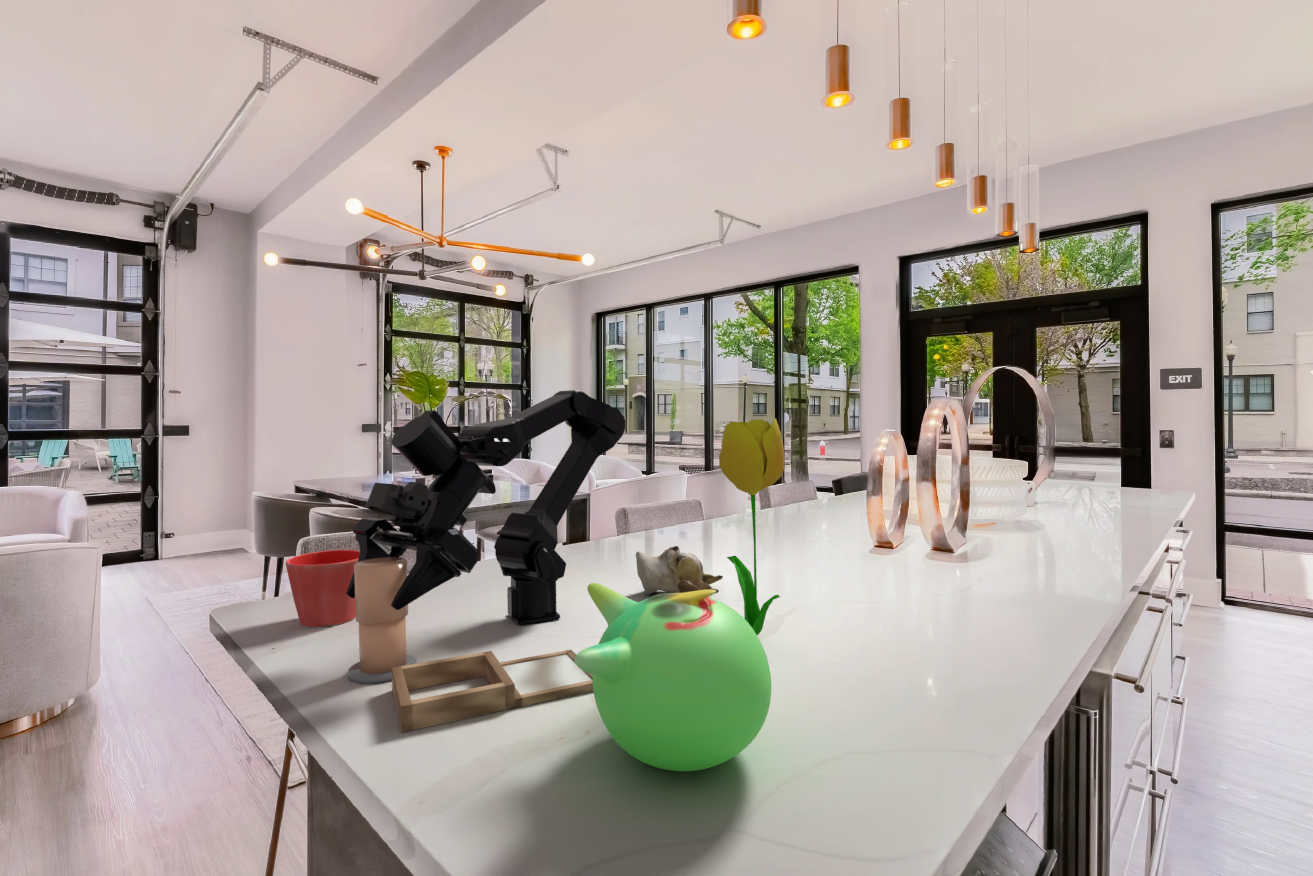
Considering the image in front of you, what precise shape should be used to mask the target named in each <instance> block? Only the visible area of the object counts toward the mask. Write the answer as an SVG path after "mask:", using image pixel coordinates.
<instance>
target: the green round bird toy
mask: <svg viewBox="0 0 1313 876" xmlns="http://www.w3.org/2000/svg"><path fill="white" fill-rule="evenodd" d="M586 588H587V592H588V595H589V597H590V598H591V600H592V601H593V603H594V604H595V606H596V608H597V609H598V611H599V612H600V613H601V616H602V617H603V618H604V620H605V622H606V623H607V625H608V626H607V628H606V629H605V631H604V632H603V634H602V635H601V637H600V640H599V641H598V644H596V645H595V644H594V645H592V646H588V647H586V648H584V649H582V650H580V651H579V652H578V653H576V656H575V664H576V665H577V666H578V667H579V668H580V669H582V670H583V671H585V672H587V673H590V674H592V675H593V691H592V692H593V694H594V695H593V696H594V700H595V704H596V708H597V711H598V714H599V717H600V718H601V721H602V723H603V725H604V726H605V728H606V730H607V731H608V732H607V733H609V734H610V736H611V738H612V739H613V740H614V741H615V742H616V744H618V746H619V747H621V748H622V749H623V750H624V751H625V752H626V753H627V754H629V755H630V756H631V757H633V758H634V759H636V760H638V761H639V762H641V763H643V764H647V765H649V766H651V767H654V768H657V769H662V770H667V771H671V772H672V771H673V772H694V771H700V770H701V771H702V770H706V769H709V768H710V769H711V768H713V767H717V766H719V765H721V764H723V763H725V762H727V761H729V760H731V759H733V758H734V757H736V756H737V755H739V754H740V753H741V752H742V751H744V750H745V749H747V747H749V746H750V744H751V743H753V741H754V740H755V739H756V737H757V736H758V734H759V733H760V732H761V730H762V728H763V726H764V724H765V722H766V719H767V716H768V713H769V709H770V705H771V698H772V675H771V670H770V669H771V668H770V664H769V660H768V657H767V654H766V651H765V649H764V646H763V644H762V642H761V640H760V638H759V636H758V635H756V633H755V631H754V630H753V628H752V627H751V626H750V625H749V623H748V622H747V621H746V620H745V618H744V616H742V615H741V614H740V613H739V612H738V611H736V610H735V609H734V608H733V607H731V606H730V605H728V604H726V603H724V602H723V601H720V600H718V599H715V598H713V597H711V596H713V595H714V594H715V593H716V590H698V591H691V592H685V593H669V592H666V593H664V592H663V593H658V594H655V595H651V596H650V597H647V598H646V599H643V600H640V601H635V600H634V599H630V598H629V597H626V596H625V595H623V594H621V593H619V592H617V591H615V590H613V589H611V588H610V587H608V586H605V585H602V584H600V583H597V582H591V583H589V584H588V585H587V587H586ZM716 594H717V593H716Z"/></svg>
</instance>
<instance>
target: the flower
mask: <svg viewBox="0 0 1313 876" xmlns="http://www.w3.org/2000/svg"><path fill="white" fill-rule="evenodd" d="M718 458H719V459H718V463H719V464H718V466H719V467H720V470H721V472H722V473H723V475H724V476H725V478H727V479H728V481H730V482H731V484H733V485H734V487H736V488H737V490H739V491H741V492H743V493H746V494H748V495H750V503H751V516H752V519H751V520H752V534H753V535H752V536H753V576H752V573H751V571H750V570H749V569H748V568H747V566H746V565H745V564H744V563H743V561H742V560H741V559H740V558H739V557H738V556H736V555H731V556H726V558H727V559H728V560H729V561H730V562H731V563H732V564H733V565H734V567H735V571H736V575H737V580H738V583H739V586H740V589H741V593H742V598H743V611H744V614H743V615H744V616H743V618H744V619H745V620H746V621H747V622H748V623H749V625H750V626H751V627H752V628H753V630H754V631H755V633H756V635H757V636H758V635H759V634H760V633H761V632H762V630H763V627H764V623H765V620H766V616H767V611H768V610H769V607H770V606H771V604H772V603H773V601H774V600H777V599H778V598H781V596H780V595H779V594H775V595H773V596H771V597H770V598H769V599H767V600H766V601H765V602H763V604H762V605H761V608H760V605H759V602H758V599H757V598H758V597H757V596H758V590H757V589H758V587H757V585H758V583H757V580H758V579H757V544H756V543H757V542H756V541H757V540H756V539H757V538H756V534H757V532H756V529H757V528H756V495H757V494H759V492H762V491H764V490H765V489H767V488H769V487H770V486H772V485H774V484H775V483H776V482H777V481H778V480H780V479H781V477H782V475H783V473H784V470H785V460H786V459H785V449H784V444H783V437H782V432H781V430H780V426H779V424H778V420H777V418H776V417H775V418H774V419H773V420H772V421H771V423H769V421H767V420H766V421H765V420H764V419H758V418H757V419H750V420H749V421H748V422H746V421H731V422H729V423H727V424H726V425H725V427H724V431H723V435H722V439H721V450H720V452H719V456H718Z"/></svg>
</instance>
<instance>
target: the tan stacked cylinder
mask: <svg viewBox="0 0 1313 876" xmlns="http://www.w3.org/2000/svg"><path fill="white" fill-rule="evenodd" d="M354 576H355V612H356V617H355V622H357V623H358V646H359V648H358V649H359V653H358V654H359V662H360V671H361V672H363V673H366V674H382V673H388V672H392V668H393V667H399V666H404V665H406V663H407V655H408V654H407V653H408V652H407V651H408V650H407V620H406V619H407V618H406V616H408V615H409V604H408V605H406V606H404V607H403V608H401V609H400V610H396V609H394V608H393V607H392V606H391V603H392V601H393V599H394V597H395V596H396V594H397V592H398V590H399V589H400V587H401V585H402V584H403V582H404V581H405V579H406V577H407V576H408V559H407V558H405V557H401V556H400V557H384V558H374V559H368V560H364V561H360V562H357V563H355V564H354Z"/></svg>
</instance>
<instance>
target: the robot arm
mask: <svg viewBox="0 0 1313 876" xmlns="http://www.w3.org/2000/svg"><path fill="white" fill-rule="evenodd" d="M564 422H565V424H566V426H568V427H569V428H571V429H570V435H571V436H570V438H571V443H570V445H569V446H568V448H567V450H566V451H565V453H564V455H563V456H562V458H561V459H560V461H559V462H558V464H557V466H556V468H555V469H554V471H553V472H552V473H551V475H550V477H549V479H548V480H547V482H546V483H545V485H544V487H543V488H542V489H541V491H540V493H539V494H538V496H537V497H536V499H535V500H534V502H533V503H532V505H531V506H530V508H529V510H528V511H526V512H525V513H520V512H511V513H510V514H509V515H508V516H507V519H506V521H505V522H504V524H503V526H502V527H501V529H499V530H497V532H496V535H498V537H497V538H496V540H495V542H494V546H493V549H495V551H494V552H495V554H494V555H495V559H496V560H497V563H498V565H499V567H500V570H501V572H502V576H503V577H510V586H508V587H507V588H506V591H507V596H506V597H507V614H508V615H509V616H510V617H511V618H512V620H513V621H514V623H516V624H517V625H525V624H533V623H539V622H544V621H545V622H546V621H553V620H559V619H560V618H561V614H560V613H558V611H557V582H558V580H560V579H561V578H563V577H564V576H565V572H566V567H567V562H566V561H565V560H564V559H563V558H562V557H561V556H560V554H559V553H558V552H557V551H556V547H557V545H558V542H559V541H558V525H559V523H560V522H561V519H562V518H563V516H564V514H565V513H566V511H567V509H568V508H569V507H570V505H571V502H572V501H573V499H574V497H575V496H576V494H577V493H578V491H579V489H580V488H581V486H582V484H583V483H584V481H585V479H586V477H587V476H588V474H589V473H590V470H591V469H592V467H593V465H594V464H595V463H596V460H597V459H598V458H599V457H600V456H602V455H604V454H605V453H607V452H608V451H610V450H611V449H612V448H614V447H615V445H617V443H619V441H620V440H621V438H622V437H623V436H624V433H625V431H626V419H625V416H624V415H623V414H622V411H621V410H620V409H619V408H617V407H613V406H611V404H608V403H606V402H603V401H600V400H598V399H596V398H593V397H592V396H590V395H589V394H587V393H585V392H584V391H581V390H580V389H572V390H571V389H569V390H559V391H558V392H556V393H554V394H553V395H552V396H550V397H548V398H546V399H544V400H542V401H540V402H538V403H536V404H533V405H532V406H531V405H530V407H528V408H526V409H523V410H522V411H519V412H518V413H515V414H513V415H510V416H509V417H507V418H501V419H498V420H492V421H491V420H490V421H485V422H481V423H476V424H472V425H468V426H467V427H465V428H464V429H462V431H461V432H460V433H459V434H458V435H456V434H455V432H453V431H452V429H451V427H449V426H448V425H447V423H445V421H444V420H443V418H442V416H441V414H439V412H438V411H437V410H425V411H424V412H423V413H421V415H420V416H418V417H415V418H413V419H411V420H410V421H409V422H407V423H406V424H405V425H402V426H399V428H398V429H397V430H396V431H395V432H394V435H393V436H392V438H391V445H392V446H393V447H394V449H396V450H397V451H398V453H399V454H400V455H401V456H402V457H403V458H404V459H405V460H406V461H407V462H408V463H409V464H410V465H411V466H412V467H413V468H414V470H416V471H417V472H418V473H419V474H420V475H421V476H423V477H429V476H436V477H435V478H434V479H433V480H432V482H431V483H430V484H429V486H428V485H426V484H424V483H422V482H420V481H419V482H418V481H409V482H408V483H407V484H406V485H405V486H402V485H398V484H394V483H385V482H384V483H383V482H374V484H373V486H372V488H371V491H370V495H369V496H368V499H367V502H366V504H365V508H366V509H367V510H371V511H374V510H375V511H378V512H381V513H384V514H387V515H389V516H391V517H390V519H389V520H387V519H385V518H378V517H377V518H376V517H364V518H361V519H360V520H359V521H358V523H357V524H356V525H355V526H354V527H353V528H352V533H354V534H355V536H354V538H355V540H356V542H358V547H359V551H360V555H359V559H358V562H360V561H364V560H368V559H374V558H384V557H400V558H401V557H402V556H403V555H404V553H405V552H406V551H407V550H412V551H415V553H416V554H415V557H416V558H415V562H414V564H413V566H412V567H411V569H410V571H409V572H408V573H407V577H406V579H405V581H404V582H403V584H402V585H401V587H400V589H399V590H398V592H397V594H396V596H395V597H394V599H393V601H392V603H391V606H392V607H393V608H394V609H396V610H400V609H401V608H403V607H404V606H406V605H408V606H409V604H411V603H413V602H414V601H416V600H417V599H419V598H420V597H422V596H424V595H425V594H427V593H429V592H431V591H432V590H433V589H435V588H438V587H439V586H441V585H442V584H445V583H446V582H448V581H450V580H451V579H453V578H460V576H461V575H462V572H463V573H468V574H470V573H472V571H473V569H474V568H475V566H476V565H477V563H478V561H479V549H478V548H477V547H475V546H474V544H473V543H472V542H471V541H470V540H469V539H468V538H467V537H466V536H465V535H464V534H463V533H462V532H461V531H459V529H458V528H457V527H456V526H460V527H461V526H463V527H464V525H465V524H466V522H467V521H468V519H467V517H465V516H464V514H465V512H466V511H467V509H468V508H469V507H470V505H471V504H472V502H473V501H474V500H475V498H476V497H477V495H478V494H486V495H487V494H489V495H490V494H491V495H495V494H496V492H497V491H496V490H497V489H496V484H495V482H494V474H491V473H485V472H484V471H483V470H482V469H481V467H483V466H484V467H504V466H507V465H508V464H509V463H511V462H512V461H513V460H514V459H515V458H517V457H518V456H519V455H520V454H521V453H522V452H523V450H524V448H525V445H526V444H527V443H529V442H530V441H531V440H533V439H534V438H537V437H538V436H540V435H542V434H544V433H546V432H547V431H550V430H551V429H553V428H555V427H557V426H559V425H560V424H563V423H564ZM480 466H481V467H480ZM389 521H390V522H391V523H393V525H392V524H391V523H390V522H389ZM394 525H395V526H398V527H399V528H398V529H397V528H396V527H394ZM455 527H456V528H455ZM346 594H347V595H348V596H349V597H350V598H355V576H354V573H353V576H352V579H351V581H350V584H349V587H348V589H347V592H346Z"/></svg>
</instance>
